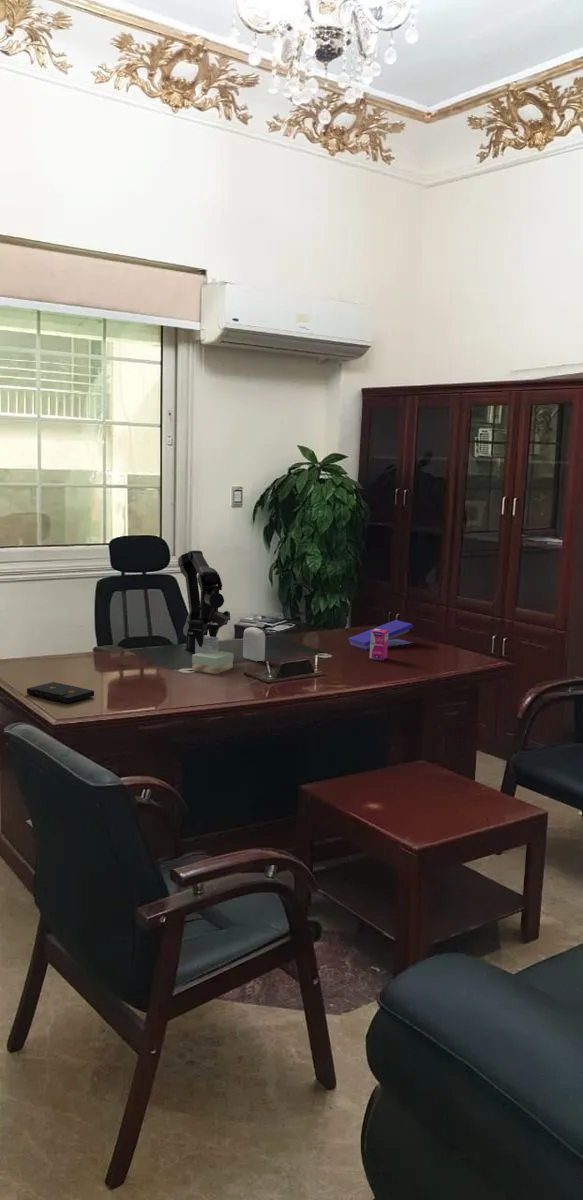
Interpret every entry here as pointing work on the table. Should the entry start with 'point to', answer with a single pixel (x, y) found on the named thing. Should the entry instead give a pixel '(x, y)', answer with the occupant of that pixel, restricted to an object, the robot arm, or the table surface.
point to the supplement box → (379, 644)
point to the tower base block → (212, 668)
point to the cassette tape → (60, 692)
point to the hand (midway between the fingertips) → (206, 644)
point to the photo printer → (254, 644)
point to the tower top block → (212, 658)
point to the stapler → (394, 630)
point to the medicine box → (207, 644)
